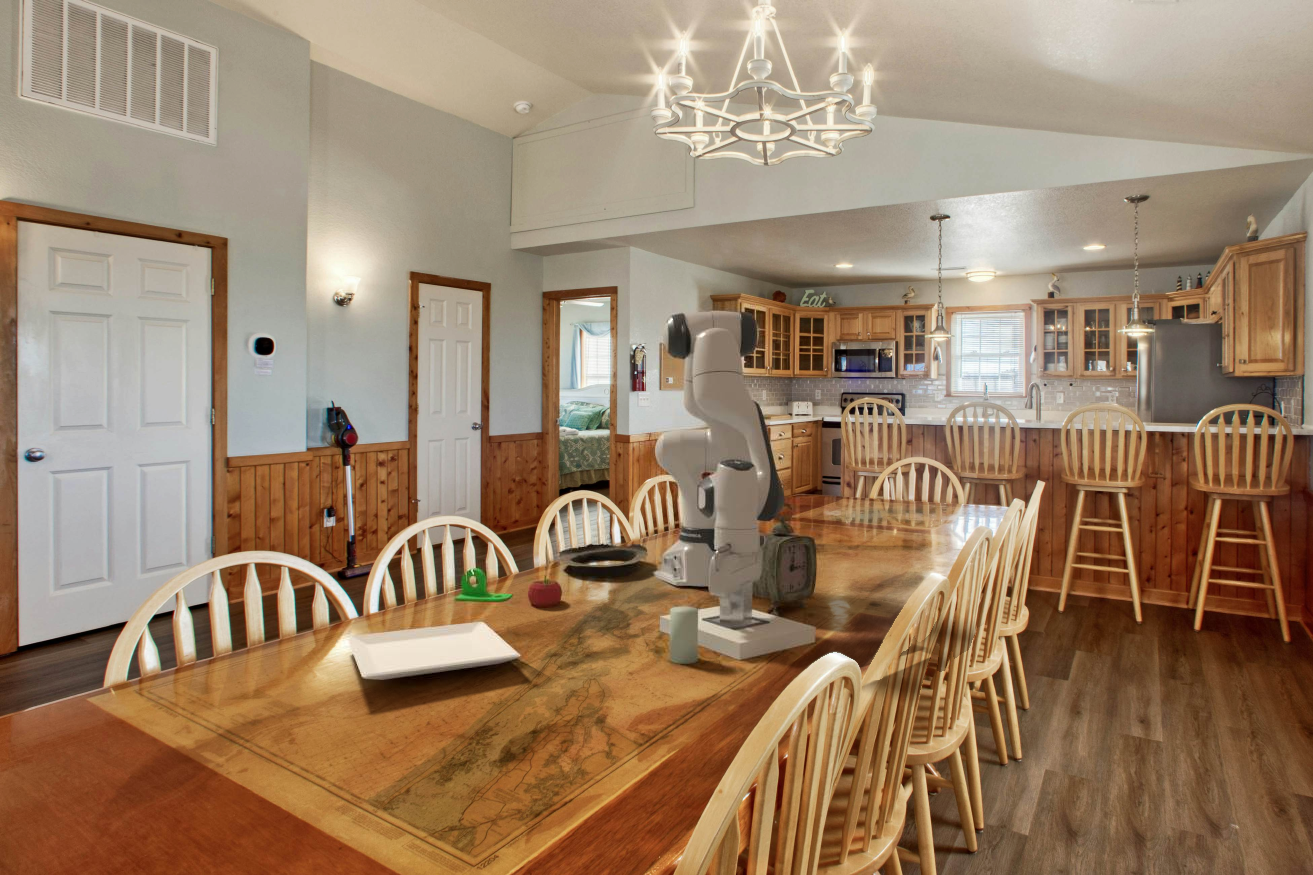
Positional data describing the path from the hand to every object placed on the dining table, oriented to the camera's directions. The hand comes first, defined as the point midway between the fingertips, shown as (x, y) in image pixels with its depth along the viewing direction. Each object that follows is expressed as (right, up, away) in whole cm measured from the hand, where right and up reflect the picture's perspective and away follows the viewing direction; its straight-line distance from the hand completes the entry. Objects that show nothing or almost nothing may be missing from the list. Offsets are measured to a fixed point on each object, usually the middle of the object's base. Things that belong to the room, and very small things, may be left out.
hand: (735, 609), depth 151 cm
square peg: (0, -5, 0) cm, 5 cm away
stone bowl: (-30, -5, +54) cm, 62 cm away
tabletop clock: (+12, -6, +20) cm, 24 cm away
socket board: (0, -5, 0) cm, 5 cm away
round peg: (-11, -5, -16) cm, 20 cm away
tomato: (-42, -5, +23) cm, 48 cm away
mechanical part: (-57, -5, +27) cm, 63 cm away
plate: (-57, -6, -14) cm, 59 cm away
